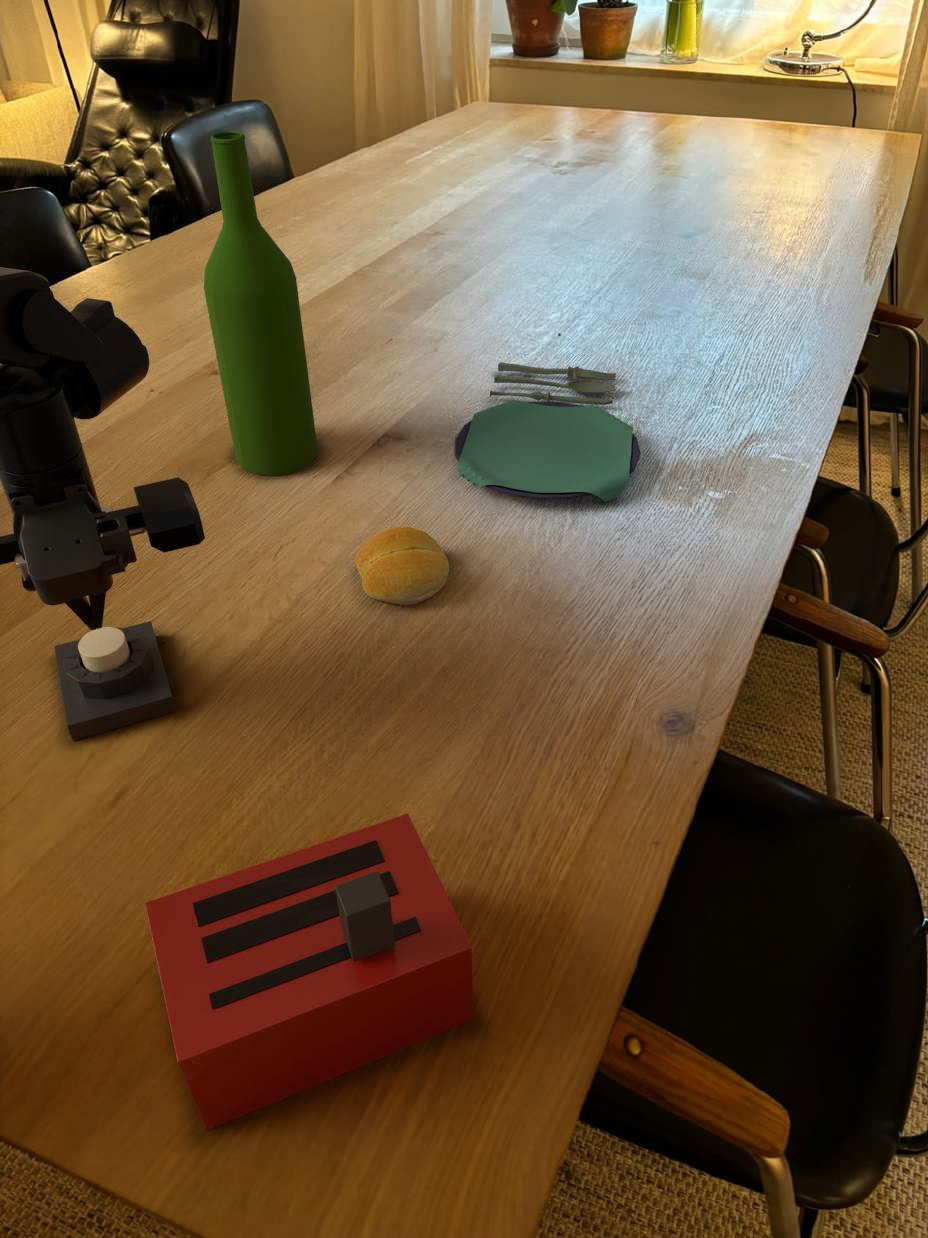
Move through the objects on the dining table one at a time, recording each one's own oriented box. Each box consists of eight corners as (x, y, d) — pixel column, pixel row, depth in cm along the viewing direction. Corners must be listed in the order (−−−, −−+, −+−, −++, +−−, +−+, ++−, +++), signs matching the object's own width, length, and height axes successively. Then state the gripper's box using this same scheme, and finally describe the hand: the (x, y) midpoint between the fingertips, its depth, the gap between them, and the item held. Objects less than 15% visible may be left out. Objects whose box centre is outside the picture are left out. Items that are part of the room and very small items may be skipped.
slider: (353, 963, 53) (346, 916, 50) (342, 932, 54) (334, 885, 52) (395, 947, 54) (390, 900, 51) (383, 917, 55) (377, 870, 52)
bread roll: (370, 616, 88) (366, 580, 85) (352, 557, 94) (348, 523, 92) (460, 600, 89) (459, 564, 87) (436, 543, 96) (435, 509, 93)
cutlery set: (438, 504, 101) (437, 485, 99) (483, 370, 123) (483, 353, 122) (635, 521, 98) (637, 502, 97) (645, 381, 121) (647, 364, 119)
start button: (86, 678, 78) (80, 662, 76) (81, 650, 80) (75, 633, 79) (133, 665, 79) (128, 649, 78) (126, 638, 81) (121, 621, 80)
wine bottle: (268, 427, 113) (219, 117, 92) (333, 445, 110) (298, 128, 89) (218, 463, 107) (154, 141, 86) (286, 484, 104) (235, 154, 83)
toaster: (206, 1131, 55) (176, 1061, 49) (172, 976, 62) (144, 901, 56) (473, 1020, 59) (472, 946, 54) (413, 888, 66) (407, 811, 61)
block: (72, 741, 77) (60, 709, 74) (59, 660, 84) (47, 629, 81) (176, 711, 79) (167, 679, 77) (155, 635, 86) (146, 604, 84)
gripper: (-115, 550, 59) (-27, 731, 69) (199, 480, 64) (238, 658, 74) (-112, 459, 67) (-34, 634, 77) (168, 404, 72) (207, 574, 82)
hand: (96, 626), depth 77 cm, fingers closed
